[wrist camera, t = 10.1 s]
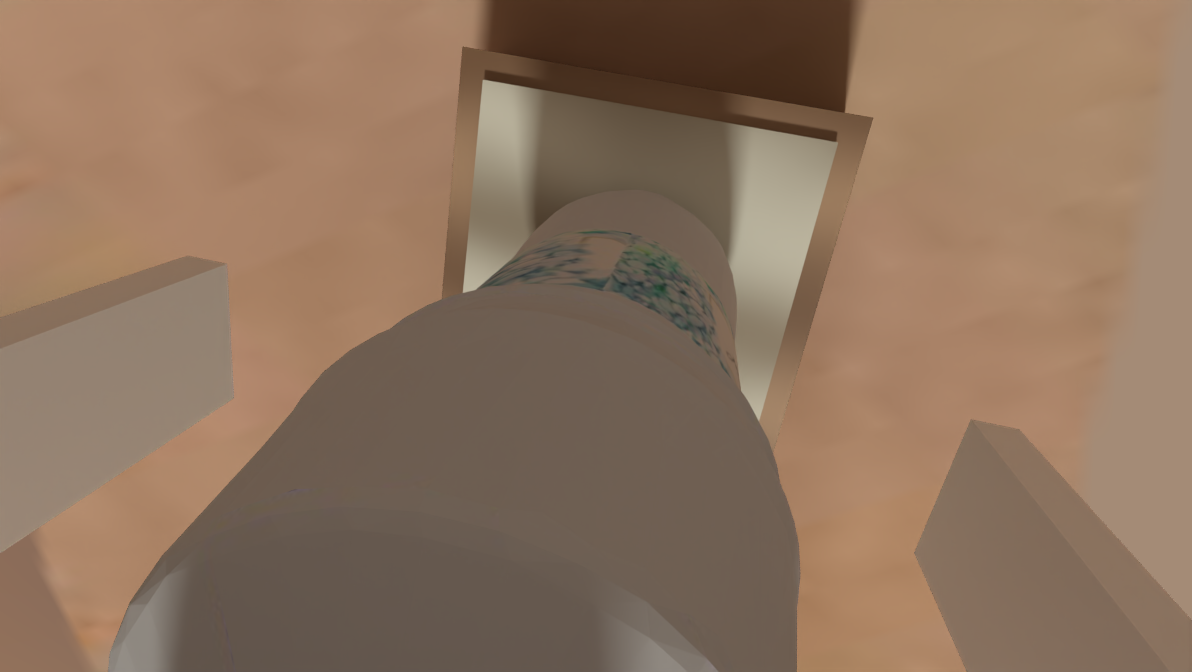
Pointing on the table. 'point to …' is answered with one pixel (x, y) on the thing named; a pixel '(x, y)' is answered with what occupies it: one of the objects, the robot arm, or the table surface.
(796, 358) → the picture frame
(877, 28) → the table surface
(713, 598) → the bottle
